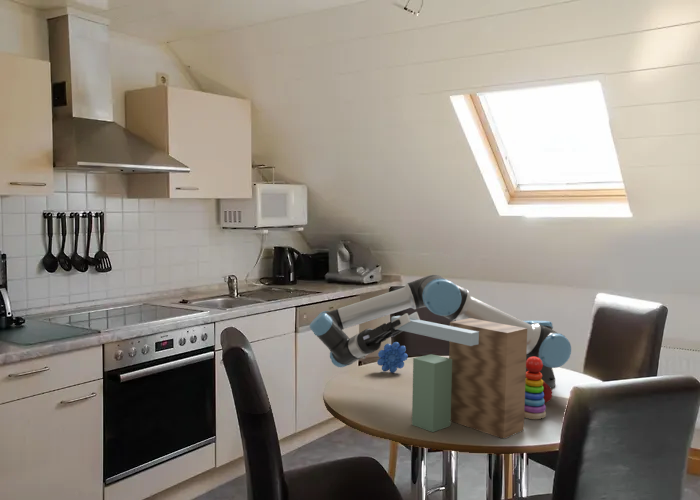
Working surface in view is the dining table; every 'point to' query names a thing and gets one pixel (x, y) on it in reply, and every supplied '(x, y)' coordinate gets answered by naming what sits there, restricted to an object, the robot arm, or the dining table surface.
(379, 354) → the blue bumpy round piece
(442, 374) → the post
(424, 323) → the rod
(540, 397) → the stacking toy
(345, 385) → the dining table surface
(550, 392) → the onion
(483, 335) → the stand
